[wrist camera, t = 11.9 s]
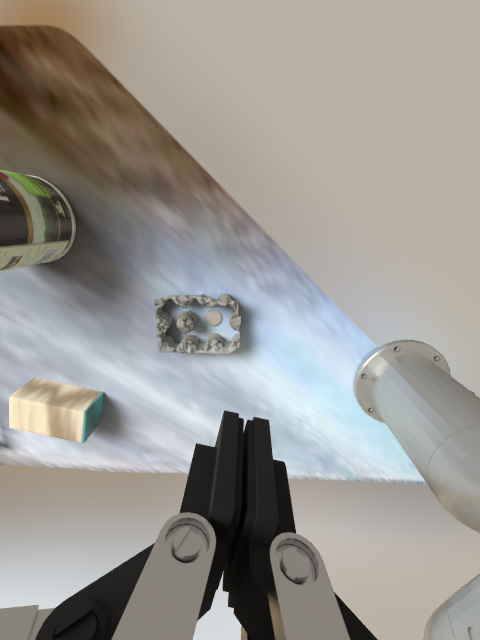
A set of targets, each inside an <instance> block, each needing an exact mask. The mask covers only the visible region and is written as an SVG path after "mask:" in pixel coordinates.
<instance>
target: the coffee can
mask: <svg viewBox="0 0 480 640" xmlns="http://www.w3.org/2000/svg"><path fill="white" fill-rule="evenodd" d="M75 232H76V224H75V218H74V214H73V211H72V208H71V206H70V204H69V202H68V201H67V199H66V198H65V196H64V195H63V194H62V193H61V192H60V191H59V190H58V189H57V188H56V187H55V186H54V185H52V184H51V183H50V182H48V181H46V180H44V179H42V178H39V177H36V176H31V175H23V174H19V173H14V172H9V171H4V170H0V271H5V270H10V269H14V268H19V267H24V266H30V265H34V264H40V263H48V262H53V261H55V260H58V259H59V258H61V257H62V256H64V255H65V254H66V253H67V252H68V251H69V249H70V248H71V246H72V244H73V242H74V237H75Z"/></svg>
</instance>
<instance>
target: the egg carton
mask: <svg viewBox="0 0 480 640" xmlns="http://www.w3.org/2000/svg"><path fill="white" fill-rule="evenodd" d="M194 298H195V299H197V300H198V302H199V303H200V304H201V305H205V306H206V307H211V308H214V307H216V306H217V305H219V306H230V307H233V308H234V309H235V310H234V311H233V312H232V313H231V316H230V325H231V327H232V328H233V329H234V330H236V331H238V332H239V333H237V334H235V335H234V336H233V337H232V340H231V341H230V342H225V341H224V339H223V337H222V336H221V335H219V334H212V335H210V336H209V337H208V339H207V342H199V340H198V338H197V337H196V336H195V335H191V334H189V335H186V336H185V337H184V338H183V340H182V341H181V343H175V341H174V339H173V338H172V337H171V336H169V335H166V334H165V333H166V331H167V329H168V328H169V327H170V325H171V324H172V317H171V315H170V314H169V313H167V312H164V311H163V310H162V306H163V305H164V304H165V303H166V302H167V301H168V300H169V299H173V301H174V302H175V303H176V304H177V305H179V306H181V307H183V308H187V306H189V305H190V304H191V303H192V301H193V300H194ZM155 305H156V321H157V336H158V346H159V352H161V353H163V352H182V353H184V352H188V353H190V354H195V353H202V354H208V353H211V354H221V355H224V354H229V353H231V352H233V351H234V350H236V349H237V348H239V346H240V341H239V339H240V327H239V326H240V325H241V315H239V311H238V308H239V303H238V301H234V300H232V299H231V297H230V295H229V294H220V298H219V299H218V300H215V299H212V298H211V297H204V295H203V294H201V295H195V296H191V295H184V296H178V295H170V296H169V297H163V298H161V299H159V300H155ZM205 319H206V322H207V323H208V324H209V325H211V326H217V325H219V324H220V323H221V322H222V315H221V313H220V312H218V311H217V310H211V311H209V312H208V313H207V314H206V316H205ZM196 323H197V316H196V314H195V313H194V312H192V311H184V312H183V313H182V314H181V315H180V316H179V318H178V319H177V328H178V329H179V330H180V331H181V332H183V333H189V332H190V331H192V330H193V329H194V327H195V325H196Z"/></svg>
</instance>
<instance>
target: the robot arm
mask: <svg viewBox="0 0 480 640" xmlns="http://www.w3.org/2000/svg"><path fill="white" fill-rule="evenodd" d="M362 374H363V375H362ZM354 392H355V397H356V399H357V401H358V403H359V405H360V406H361V408H362V409H363V410H364V411H365V412H366V413H367V414H368V415H369V416H371V417H372V418H374V419H376V420H378V421H381V422H384V423H386V424H387V426H388V427H389V429H390V430H391V432H392V433H393V435H394V436H395V438H396V439H397V440H398V442H399V443H400V445H401V446H402V448H403V449H404V451H405V452H406V454H407V455H408V457H409V458H410V460H411V461H412V462H413V464H414V465H415V467H416V468H417V470H418V471H419V473H420V474H421V476H422V477H423V479H424V480H425V481H426V483H427V484H428V486H429V487H430V489H431V490H432V492H433V493H434V494H435V496H436V497H437V499H438V500H439V502H441V504H442V505H443V507H444V508H445V509H446V510H447V511H448V512H449V513H450V514H451V515H452V516H453V517H454V518H456V519H457V520H458V521H460V522H461V523H462V524H464V525H466V526H467V527H469V528H471V529H473V530H475V531H477V532H479V533H480V398H479V397H477V396H476V395H475V393H474V392H471V391H469V390H468V389H467V388H465V387H464V386H463V385H461V384H460V383H459V382H457V381H456V380H455V379H454V378H452V377H451V376H450V369H449V366H448V364H447V362H446V360H445V358H444V357H443V356H442V355H441V354H440V353H439V352H438V351H437V350H435V349H434V348H433V347H431V346H430V345H427V344H425V343H423V342H419V341H415V340H400V341H394V342H391V343H388V344H385V345H383V346H381V347H379V348H377V349H376V350H374V351H373V352H371V353H370V354H369V355H368V356H367V357H366V358H365V359H364V360H363V362H362V363H361V365H360V366H359V368H358V370H357V372H356V375H355V379H354ZM243 426H244V419H242V418H239V414H238V413H233V412H229V411H224V413H223V417H222V421H221V425H220V429H219V433H218V437H217V441H216V445H215V447H211V446H206V445H201V444H197V443H196V446H195V450H194V454H193V459H192V463H191V467H190V471H189V476H188V480H187V484H186V488H185V492H184V497H183V501H182V505H181V509H180V513H179V514H177V515H175V516H173V517H172V518H170V519H169V520H168V521H167V522H166V523H165V525H164V526H163V528H162V529H161V531H160V533H159V535H158V538H157V540H156V542H155V543H154V544H152V545H151V546H149V547H148V548H146V549H145V550H143V551H142V552H140V553H138V554H137V555H136V556H134V557H132V558H131V559H129V560H128V561H126V562H124V563H123V564H121V565H120V566H118V567H116V568H115V569H113V570H112V571H110V572H109V573H107V574H105V575H104V576H102V577H101V578H99V579H98V580H96V581H95V582H93V583H91V584H90V585H88V586H87V587H85V588H84V589H82V590H80V591H79V592H77V593H76V594H74V595H73V596H71V597H69V598H68V599H67V600H65V601H64V602H62V603H61V604H60V605H59V606H58V607H56V608H52V609H42V610H38V605H33V606H23V607H13V608H4V609H0V640H192V639H193V635H194V631H195V627H196V623H197V621H198V620H199V619H200V618H201V617H202V616H203V615H204V614H205V613H206V612H207V611H209V610H210V608H211V605H212V602H213V598H214V595H215V592H216V590H217V589H218V586H219V583H220V580H221V577H222V574H223V591H226V592H229V596H228V607H232V608H234V614H235V616H236V617H237V619H238V620H239V622H240V624H241V625H242V627H241V640H377V639H376V637H374V635H373V634H372V633H371V632H370V631H369V630H368V629H367V628H366V626H365V625H363V623H362V622H361V621H360V620H359V619H358V618H357V617H356V616H355V614H354V613H353V612H352V611H351V610H350V609H349V608H348V607H347V606H346V605H345V603H344V602H343V601H342V600H341V599H340V598H339V597H338V596H337V595H336V594H335V593H334V592H333V589H332V586H331V583H330V580H329V577H328V574H327V571H326V569H325V565H324V563H323V560H322V558H321V556H320V554H319V552H318V551H317V549H316V548H315V547H314V545H313V544H312V543H311V542H309V541H308V540H307V539H306V538H304V537H302V536H300V535H298V534H296V530H295V523H294V517H293V511H292V504H291V497H290V490H289V484H288V477H287V471H286V465H285V463H284V462H283V461H278V460H273V456H272V446H271V436H270V426H269V420H266V419H261V418H257V417H254V418H253V420H252V421H251V420H247V423H246V426H245V430H244V433H243ZM223 570H224V573H223ZM423 640H480V574H479V575H477V576H476V577H475V578H474V579H472V580H471V581H470V582H468V583H467V584H466V585H465V586H463V587H462V588H461V589H459V590H458V591H457V592H455V593H454V594H453V595H452V596H451V597H450V598H449V599H447V600H446V601H445V602H444V603H443V604H441V605H440V606H439V607H438V608H437V609H436V610H435V611H434V612H433V614H432V615H431V617H430V618H429V620H428V622H427V624H426V627H425V631H424V639H423Z"/></svg>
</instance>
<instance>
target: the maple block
mask: <svg viewBox="0 0 480 640" xmlns="http://www.w3.org/2000/svg"><path fill="white" fill-rule="evenodd" d="M103 395H104V392H101V391H96V390H91V389H87V388H82V387H77V386H73V385H68V384H63V383H59V382H54V381H49V380H45V379H40V378H34V379H32V380H31V381H30V382H28V383H27V384H25V385H24V386H23V387H21V388H20V389H19V390H17V391H16V392H14V393H13V394H12V395H10V396H9V428H12V429H17V430H22V431H27V432H32V433H37V434H41V435H46V436H51V437H56V438H61V439H66V440H71V441H76V442H80V443H84V442H85V441H86V440H87V438H88V437H89V436H90V434H91V433H92V432H93V430H94V429H95V428H96V426H97V425H98V424H99V422H100V421H101V415H102V405H103Z"/></svg>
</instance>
